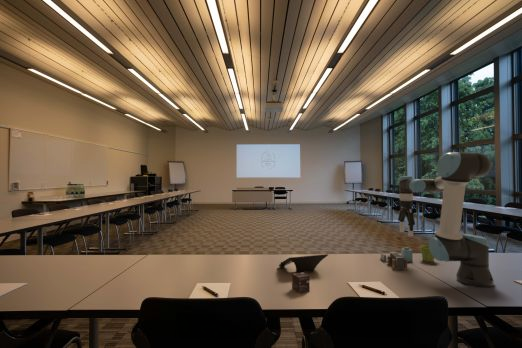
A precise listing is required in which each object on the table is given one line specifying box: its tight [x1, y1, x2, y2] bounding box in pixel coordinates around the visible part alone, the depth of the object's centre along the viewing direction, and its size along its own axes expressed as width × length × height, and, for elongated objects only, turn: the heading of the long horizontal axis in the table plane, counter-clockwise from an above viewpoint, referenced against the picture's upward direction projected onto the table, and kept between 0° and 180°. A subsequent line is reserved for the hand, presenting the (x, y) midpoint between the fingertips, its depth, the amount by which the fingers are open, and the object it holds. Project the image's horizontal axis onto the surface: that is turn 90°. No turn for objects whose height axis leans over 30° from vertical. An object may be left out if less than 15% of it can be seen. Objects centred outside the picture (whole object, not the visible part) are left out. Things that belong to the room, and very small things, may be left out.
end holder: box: [380, 252, 388, 263], centre depth 189 cm, size 8×8×4 cm
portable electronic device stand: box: [278, 253, 329, 273], centre depth 168 cm, size 23×23×9 cm
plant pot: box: [419, 244, 435, 263], centre depth 188 cm, size 9×9×9 cm
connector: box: [400, 246, 414, 263], centre depth 189 cm, size 5×5×8 cm
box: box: [291, 272, 310, 294], centre depth 138 cm, size 6×6×7 cm
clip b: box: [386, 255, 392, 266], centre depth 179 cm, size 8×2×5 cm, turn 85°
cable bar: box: [389, 251, 404, 268], centre depth 176 cm, size 4×12×6 cm, turn 175°
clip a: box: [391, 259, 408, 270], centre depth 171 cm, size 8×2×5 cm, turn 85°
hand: (406, 233), depth 189 cm, fingers open, 13 cm apart
